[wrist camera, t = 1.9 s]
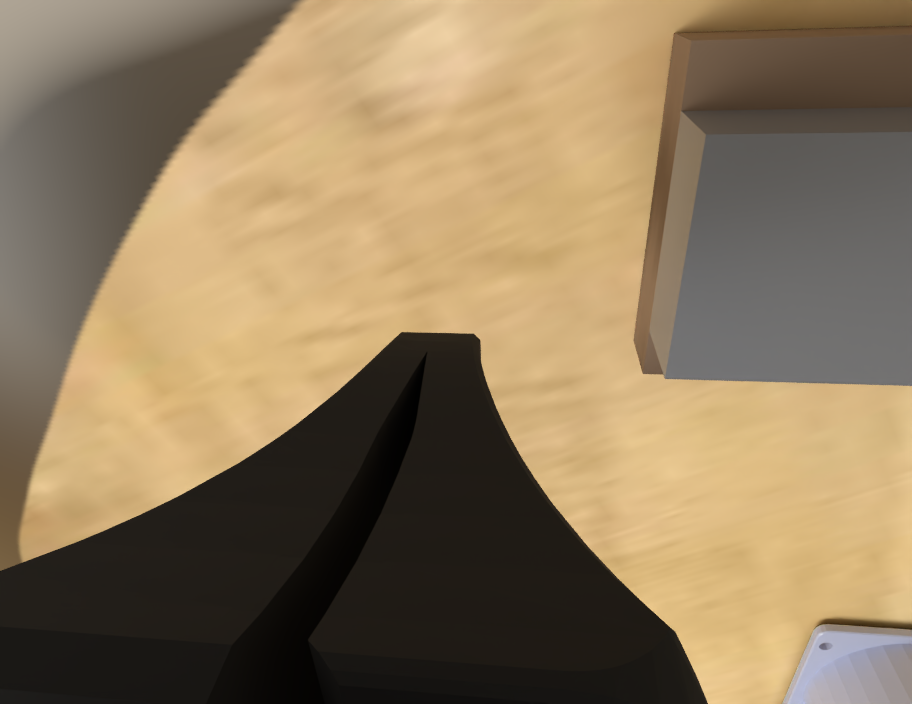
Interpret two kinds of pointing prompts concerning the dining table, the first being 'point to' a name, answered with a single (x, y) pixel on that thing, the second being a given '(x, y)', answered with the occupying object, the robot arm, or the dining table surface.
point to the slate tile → (788, 248)
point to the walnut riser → (766, 100)
